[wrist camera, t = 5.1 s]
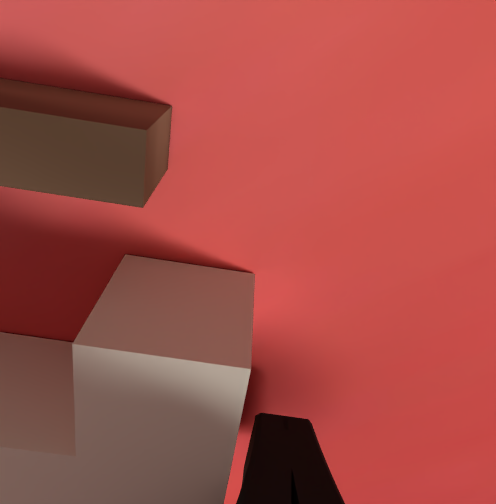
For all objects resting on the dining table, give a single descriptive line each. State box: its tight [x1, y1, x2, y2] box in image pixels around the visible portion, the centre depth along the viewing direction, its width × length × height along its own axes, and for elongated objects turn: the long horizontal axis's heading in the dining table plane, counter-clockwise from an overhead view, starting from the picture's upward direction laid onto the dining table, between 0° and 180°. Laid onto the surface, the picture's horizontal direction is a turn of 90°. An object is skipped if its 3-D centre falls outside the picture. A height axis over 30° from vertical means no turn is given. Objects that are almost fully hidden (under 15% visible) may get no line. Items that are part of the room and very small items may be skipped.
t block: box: [0, 254, 255, 504], centre depth 10 cm, size 8×8×3 cm
